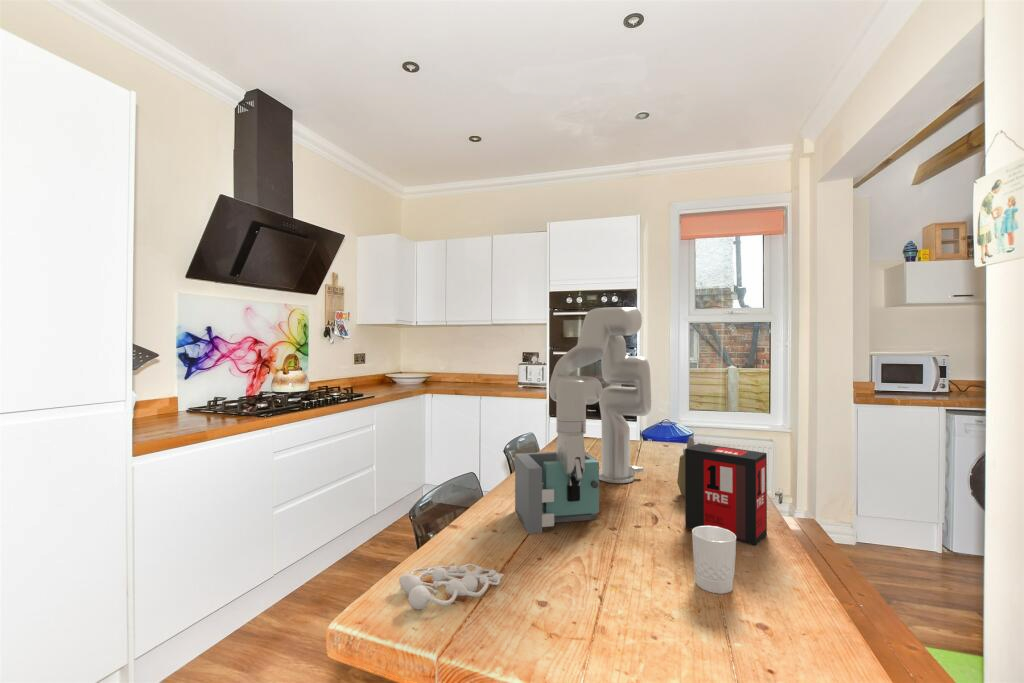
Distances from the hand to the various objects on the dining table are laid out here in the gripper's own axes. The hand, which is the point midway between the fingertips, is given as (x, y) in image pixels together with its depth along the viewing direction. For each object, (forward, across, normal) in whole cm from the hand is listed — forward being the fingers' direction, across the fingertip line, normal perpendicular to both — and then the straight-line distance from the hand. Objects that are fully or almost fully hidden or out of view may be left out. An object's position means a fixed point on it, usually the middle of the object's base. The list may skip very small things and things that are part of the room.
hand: (571, 497), depth 122 cm
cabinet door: (+4, 0, 0) cm, 4 cm away
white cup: (+7, +34, +18) cm, 39 cm away
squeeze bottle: (+7, -15, +44) cm, 47 cm away
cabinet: (+7, -5, -2) cm, 9 cm away
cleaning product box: (+7, +11, +37) cm, 39 cm away
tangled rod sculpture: (+8, +25, -33) cm, 42 cm away
